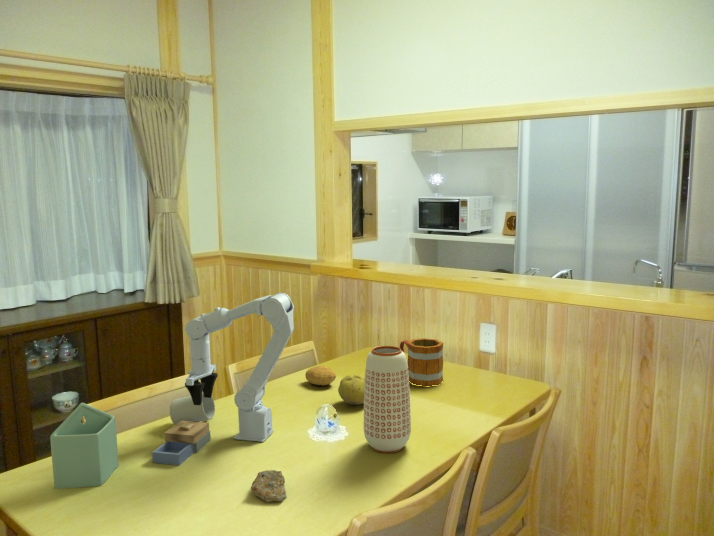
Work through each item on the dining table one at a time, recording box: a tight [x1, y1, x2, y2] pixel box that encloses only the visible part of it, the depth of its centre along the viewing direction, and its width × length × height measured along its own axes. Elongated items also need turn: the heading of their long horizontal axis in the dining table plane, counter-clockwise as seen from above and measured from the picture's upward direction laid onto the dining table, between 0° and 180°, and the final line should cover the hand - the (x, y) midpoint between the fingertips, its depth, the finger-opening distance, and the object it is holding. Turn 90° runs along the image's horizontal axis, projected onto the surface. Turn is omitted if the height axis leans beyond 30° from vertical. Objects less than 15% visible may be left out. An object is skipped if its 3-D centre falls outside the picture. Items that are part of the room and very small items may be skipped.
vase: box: [363, 345, 412, 454], centre depth 164 cm, size 13×13×28 cm
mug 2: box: [399, 338, 444, 386], centre depth 222 cm, size 20×14×15 cm
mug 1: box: [169, 392, 216, 426], centre depth 182 cm, size 12×8×11 cm
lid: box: [164, 421, 210, 444], centre depth 167 cm, size 9×9×3 cm
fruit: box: [337, 373, 365, 405], centre depth 198 cm, size 11×12×10 cm
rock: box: [250, 469, 287, 503], centre depth 140 cm, size 9×6×10 cm
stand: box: [194, 430, 212, 453], centre depth 168 cm, size 10×8×3 cm
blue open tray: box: [151, 441, 196, 466], centre depth 160 cm, size 8×8×3 cm
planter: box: [49, 402, 120, 490], centre depth 147 cm, size 16×8×20 cm, turn 138°
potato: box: [305, 365, 337, 387], centre depth 218 cm, size 9×13×7 cm
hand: (202, 401), depth 176 cm, fingers open, 6 cm apart
